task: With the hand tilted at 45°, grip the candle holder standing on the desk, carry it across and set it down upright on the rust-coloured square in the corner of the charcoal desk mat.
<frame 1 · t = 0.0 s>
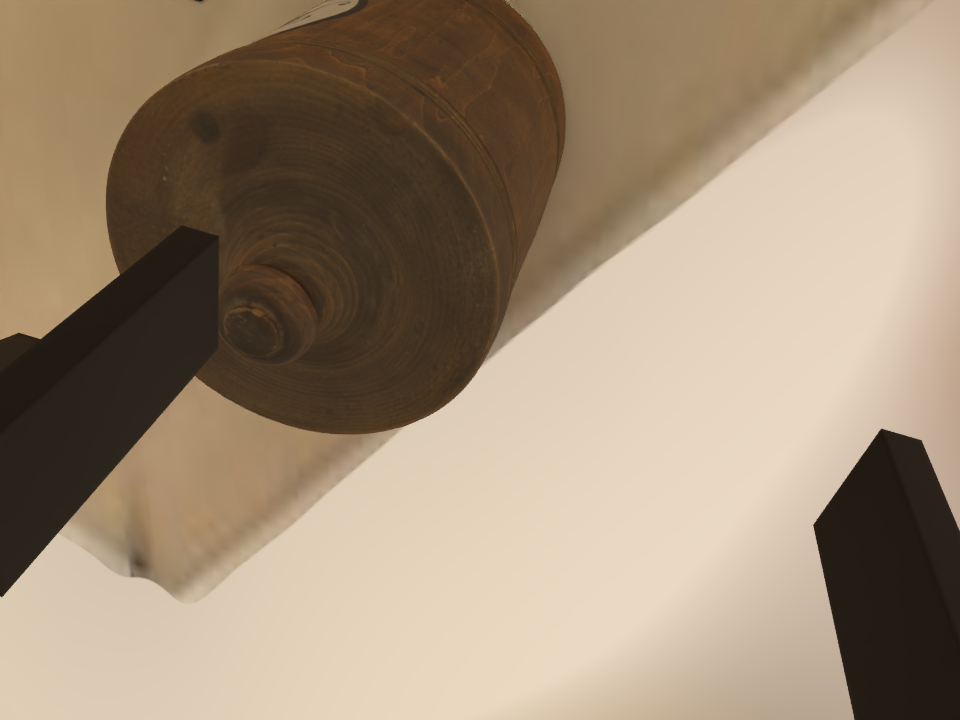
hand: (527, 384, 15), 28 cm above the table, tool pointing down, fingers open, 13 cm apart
wooden container: (430, 120, 42), on the table
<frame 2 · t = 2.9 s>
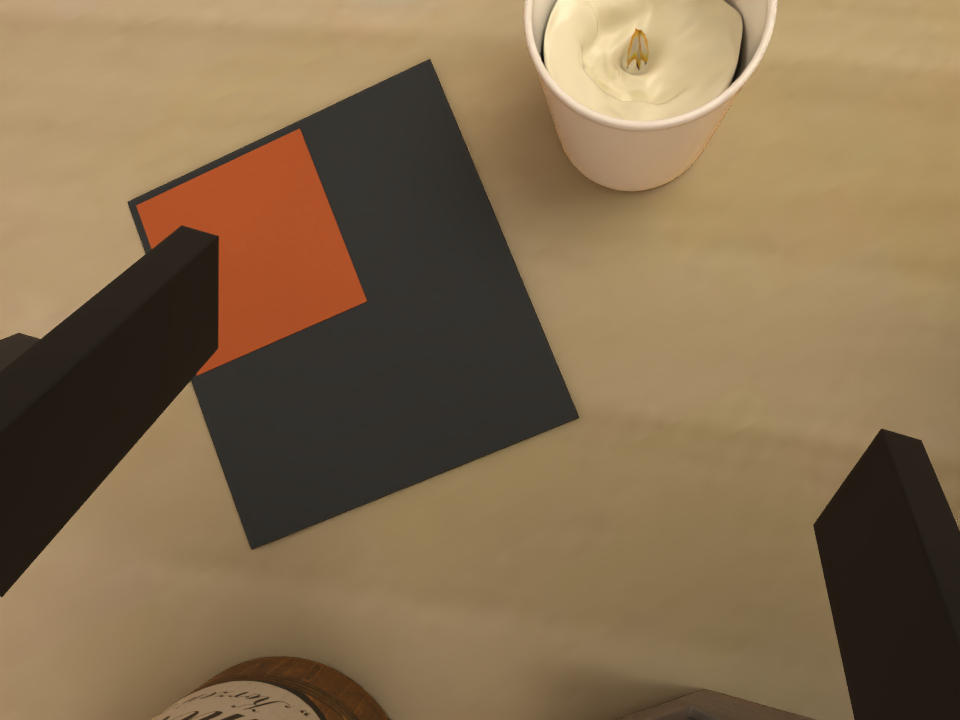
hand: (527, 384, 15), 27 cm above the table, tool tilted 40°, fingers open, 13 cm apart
desk mat: (342, 304, 44), on the table
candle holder: (633, 119, 42), on the table
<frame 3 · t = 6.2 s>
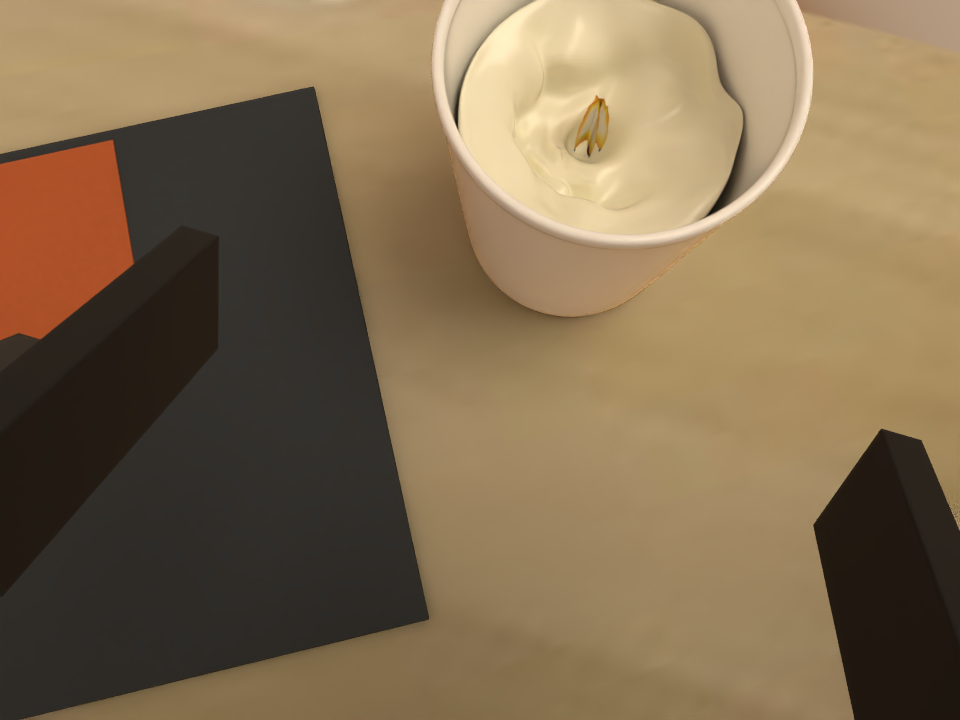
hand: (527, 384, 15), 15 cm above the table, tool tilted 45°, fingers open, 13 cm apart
desk mat: (120, 396, 30), on the table
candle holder: (568, 221, 32), on the table
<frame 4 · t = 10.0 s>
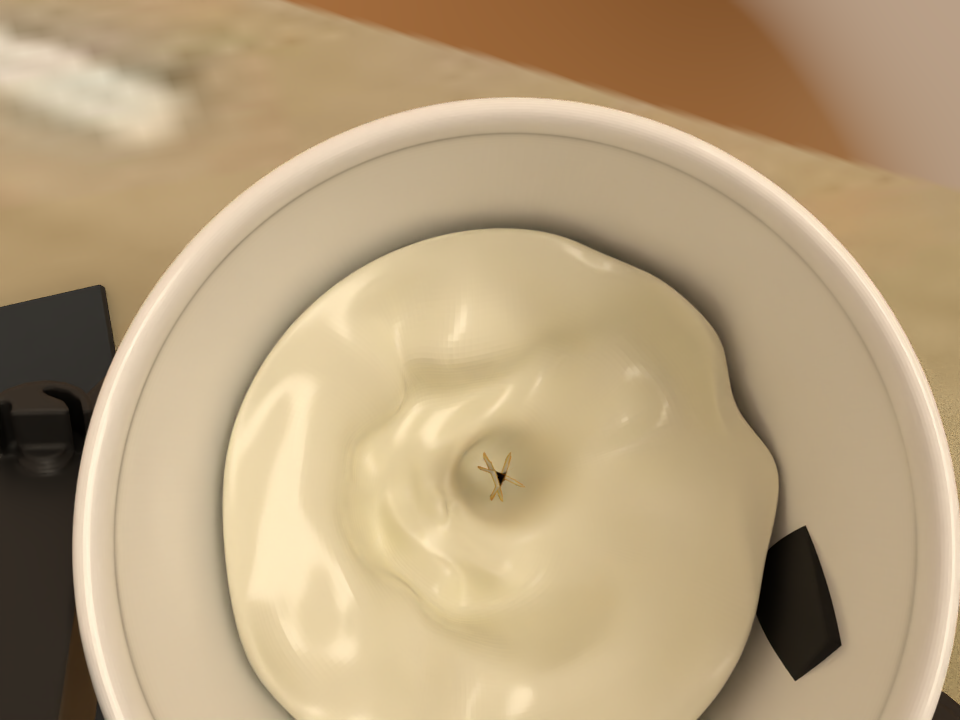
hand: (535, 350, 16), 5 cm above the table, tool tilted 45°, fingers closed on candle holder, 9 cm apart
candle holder: (490, 495, 20), on the table, touching gripper
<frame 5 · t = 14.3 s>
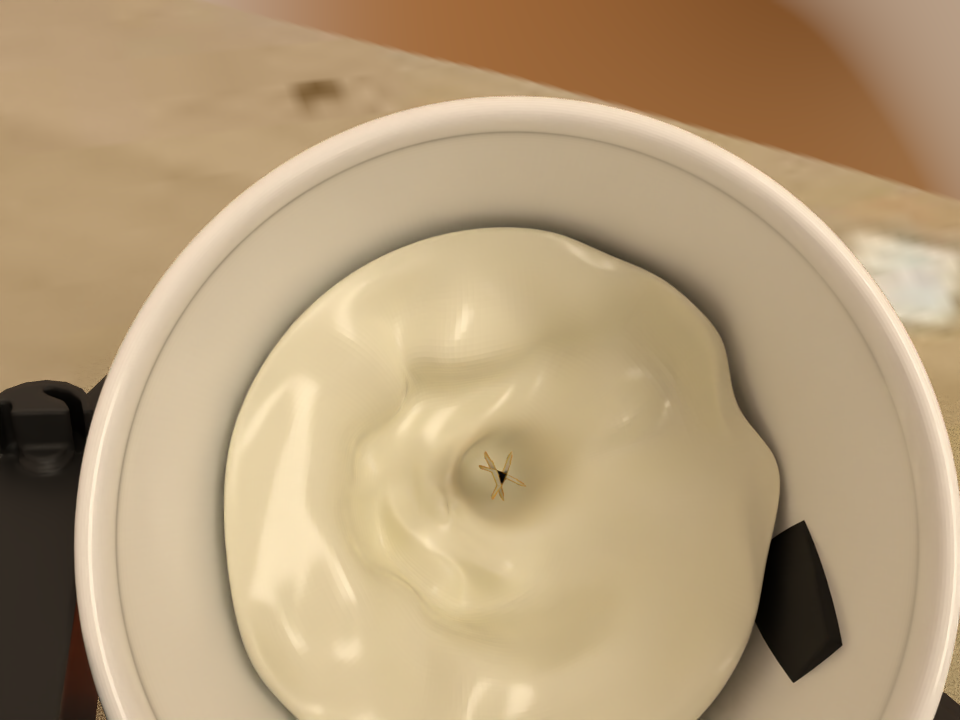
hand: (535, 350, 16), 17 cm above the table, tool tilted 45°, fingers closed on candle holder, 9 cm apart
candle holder: (491, 494, 20), point 12 cm above the table, touching gripper
when the fingers open (5 cm above the table, at t = 19.0 s): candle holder stays where it is, resting on desk mat.
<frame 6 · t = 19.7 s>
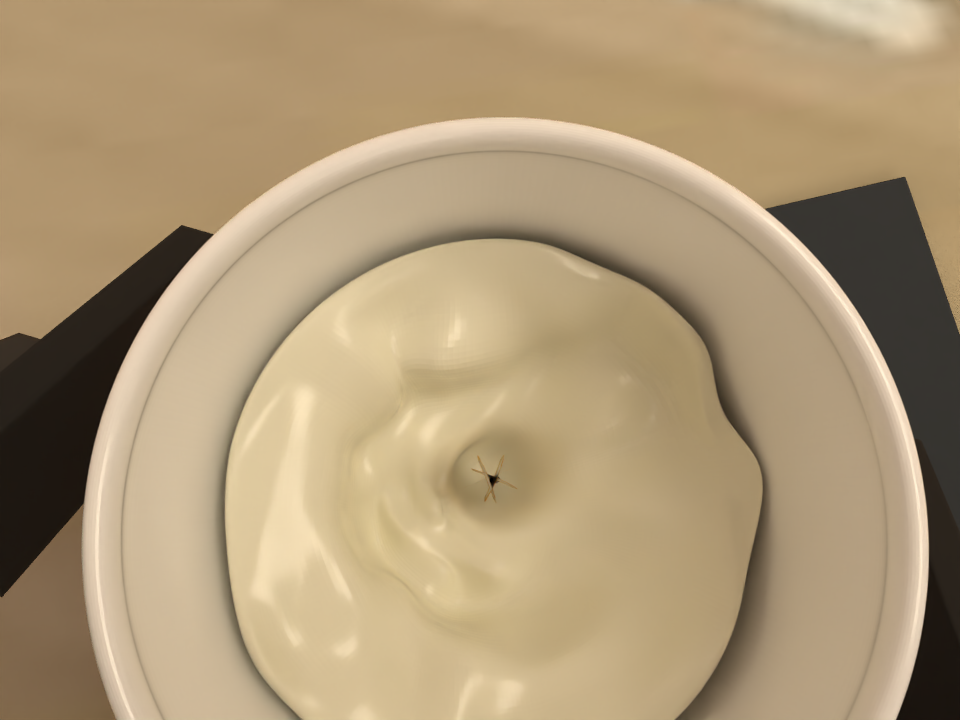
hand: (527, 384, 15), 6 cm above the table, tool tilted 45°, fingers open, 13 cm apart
desk mat: (676, 642, 20), on the table
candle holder: (487, 495, 21), resting on desk mat
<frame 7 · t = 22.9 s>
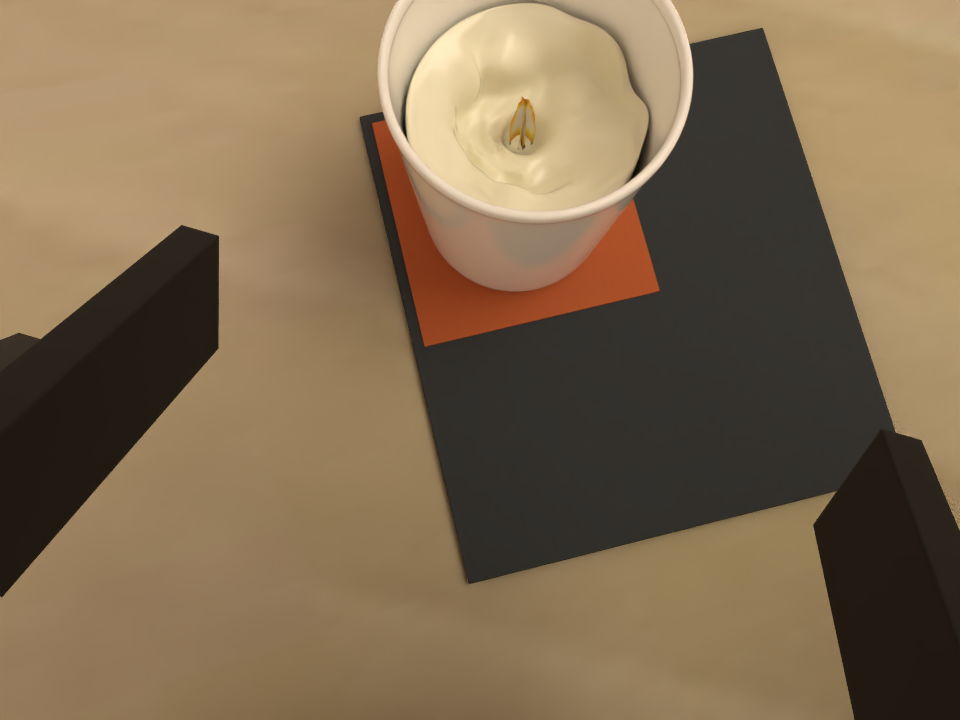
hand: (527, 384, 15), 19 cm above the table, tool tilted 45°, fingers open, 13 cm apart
desk mat: (623, 290, 35), on the table
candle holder: (513, 208, 36), resting on desk mat
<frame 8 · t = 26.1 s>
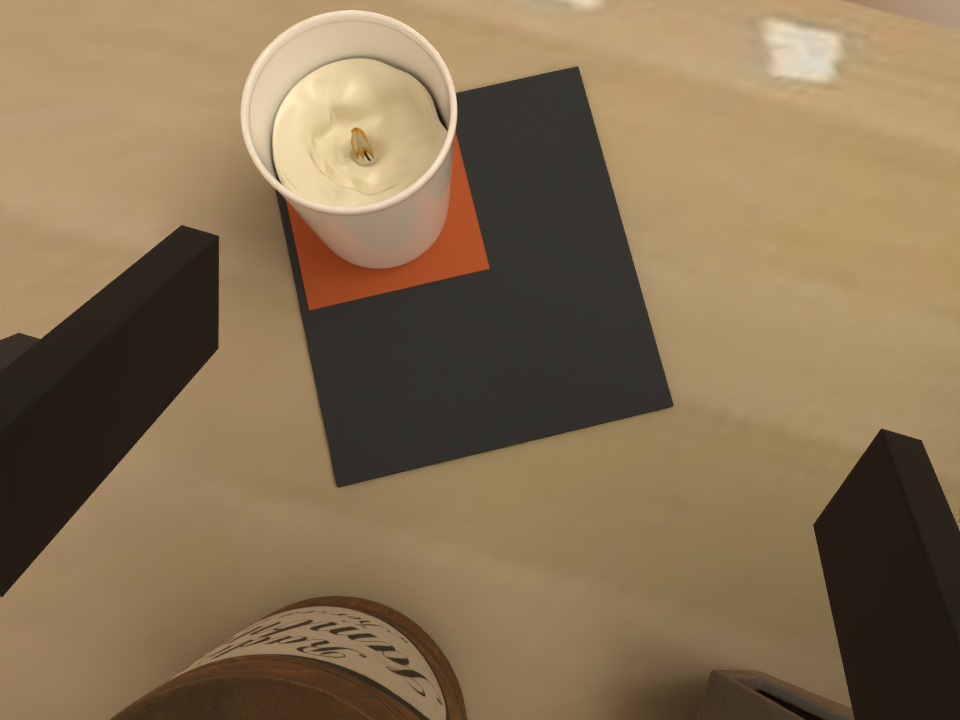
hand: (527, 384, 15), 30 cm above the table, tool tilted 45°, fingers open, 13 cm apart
desk mat: (463, 268, 46), on the table
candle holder: (380, 205, 46), resting on desk mat
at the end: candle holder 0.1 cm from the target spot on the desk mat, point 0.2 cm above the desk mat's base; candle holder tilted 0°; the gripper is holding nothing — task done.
